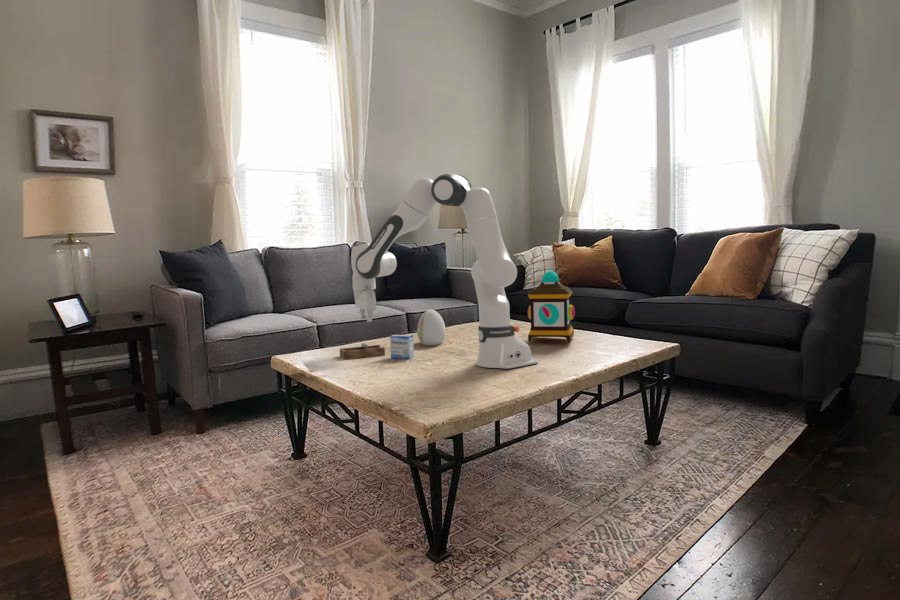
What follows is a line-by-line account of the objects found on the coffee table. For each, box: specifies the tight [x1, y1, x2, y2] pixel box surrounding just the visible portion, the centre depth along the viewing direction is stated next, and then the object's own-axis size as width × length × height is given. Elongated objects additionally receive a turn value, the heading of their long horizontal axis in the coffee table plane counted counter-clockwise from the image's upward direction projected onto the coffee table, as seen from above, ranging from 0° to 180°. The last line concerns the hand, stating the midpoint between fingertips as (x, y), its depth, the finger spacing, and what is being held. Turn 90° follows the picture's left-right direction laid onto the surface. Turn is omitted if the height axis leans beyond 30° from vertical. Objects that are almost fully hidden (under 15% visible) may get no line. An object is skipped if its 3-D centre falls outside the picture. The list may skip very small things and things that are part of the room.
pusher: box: [361, 342, 368, 349], centre depth 214 cm, size 1×5×4 cm, turn 23°
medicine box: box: [389, 334, 415, 360], centre depth 206 cm, size 8×4×9 cm, turn 73°
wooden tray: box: [339, 344, 386, 360], centre depth 214 cm, size 16×8×3 cm, turn 113°
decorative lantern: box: [527, 270, 576, 345], centre depth 233 cm, size 20×20×30 cm
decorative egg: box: [416, 309, 447, 346], centre depth 235 cm, size 12×12×15 cm
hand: (366, 320), depth 214 cm, fingers open, 8 cm apart
